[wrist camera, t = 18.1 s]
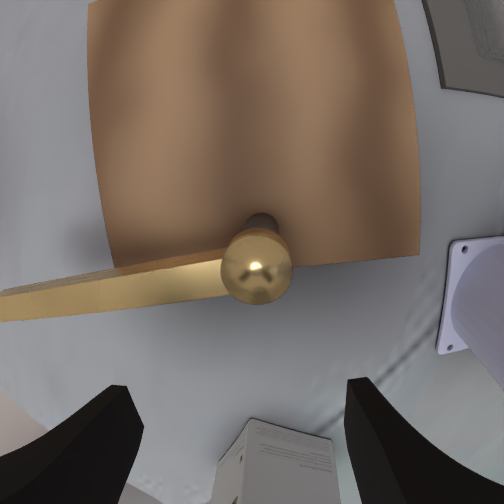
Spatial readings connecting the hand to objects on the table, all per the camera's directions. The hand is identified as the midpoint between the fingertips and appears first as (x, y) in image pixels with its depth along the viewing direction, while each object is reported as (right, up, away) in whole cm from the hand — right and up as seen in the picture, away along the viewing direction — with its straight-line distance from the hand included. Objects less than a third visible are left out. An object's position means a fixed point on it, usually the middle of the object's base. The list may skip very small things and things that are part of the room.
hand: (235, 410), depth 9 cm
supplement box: (+2, -11, +14) cm, 18 cm away
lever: (-5, +4, +2) cm, 7 cm away
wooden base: (0, +12, +6) cm, 14 cm away
